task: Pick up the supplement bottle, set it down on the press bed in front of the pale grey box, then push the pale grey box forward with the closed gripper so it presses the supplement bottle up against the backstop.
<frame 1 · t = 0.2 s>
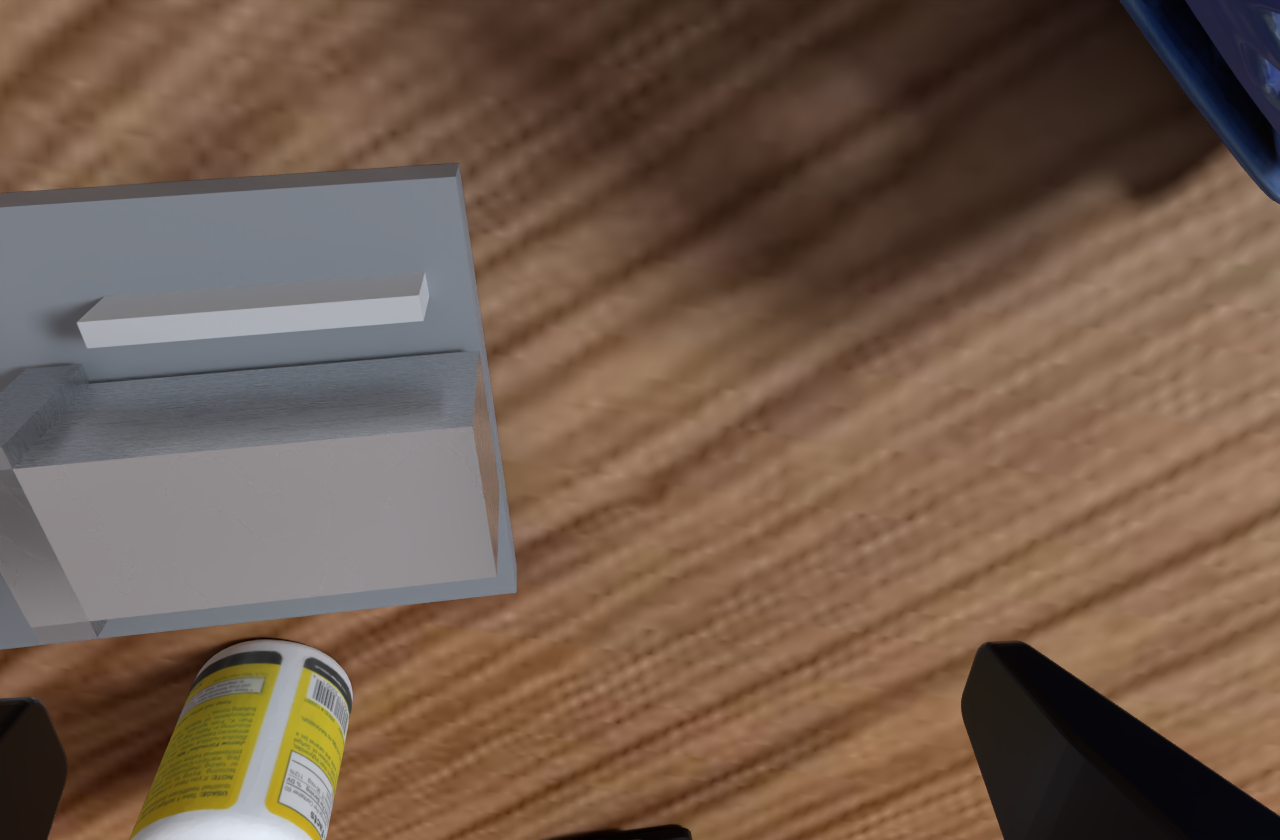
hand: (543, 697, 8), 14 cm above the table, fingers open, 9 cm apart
supplement bottle: (279, 683, 27), on the table
press bed: (76, 429, 22), on the table
pale grey box: (265, 482, 19), point 3 cm above the table, slide at 0.0 cm
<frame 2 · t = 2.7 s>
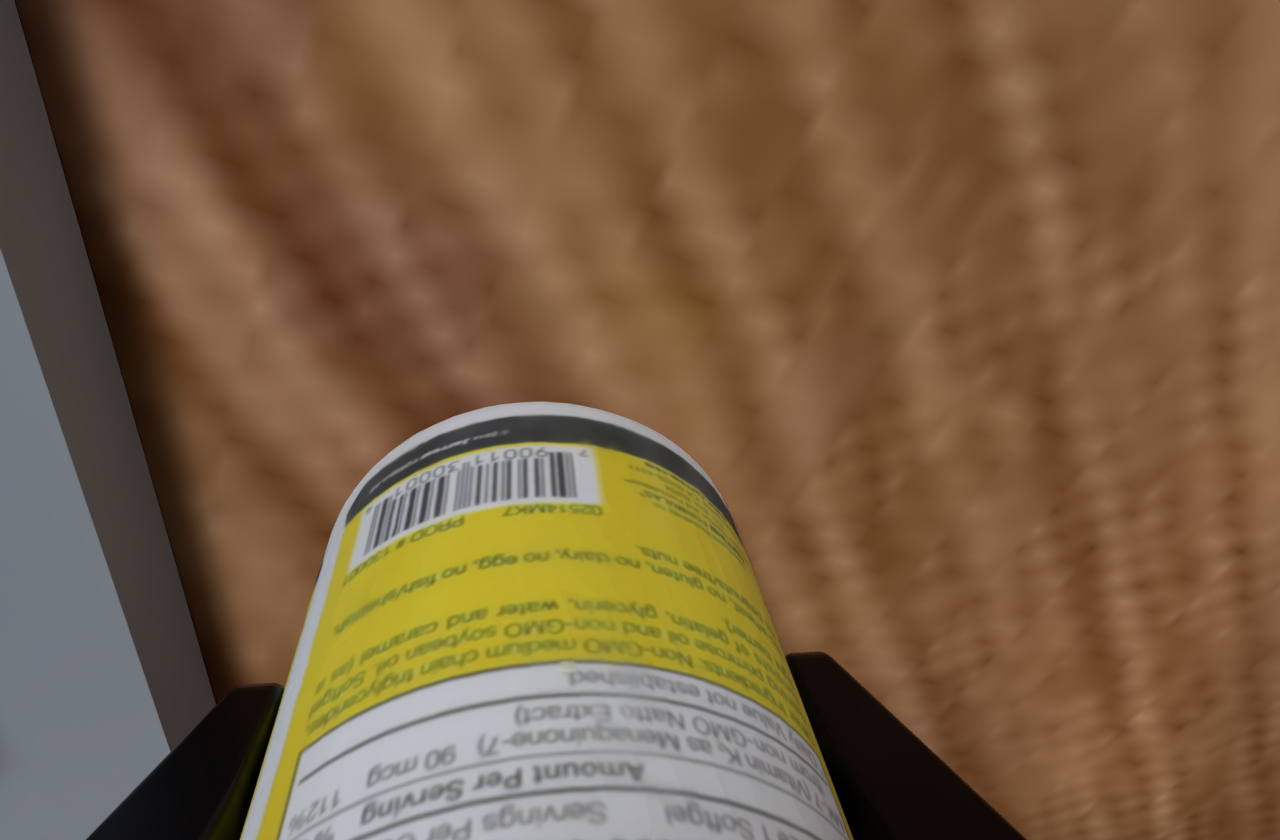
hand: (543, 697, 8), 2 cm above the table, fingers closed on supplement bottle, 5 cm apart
supplement bottle: (538, 553, 10), on the table, touching gripper
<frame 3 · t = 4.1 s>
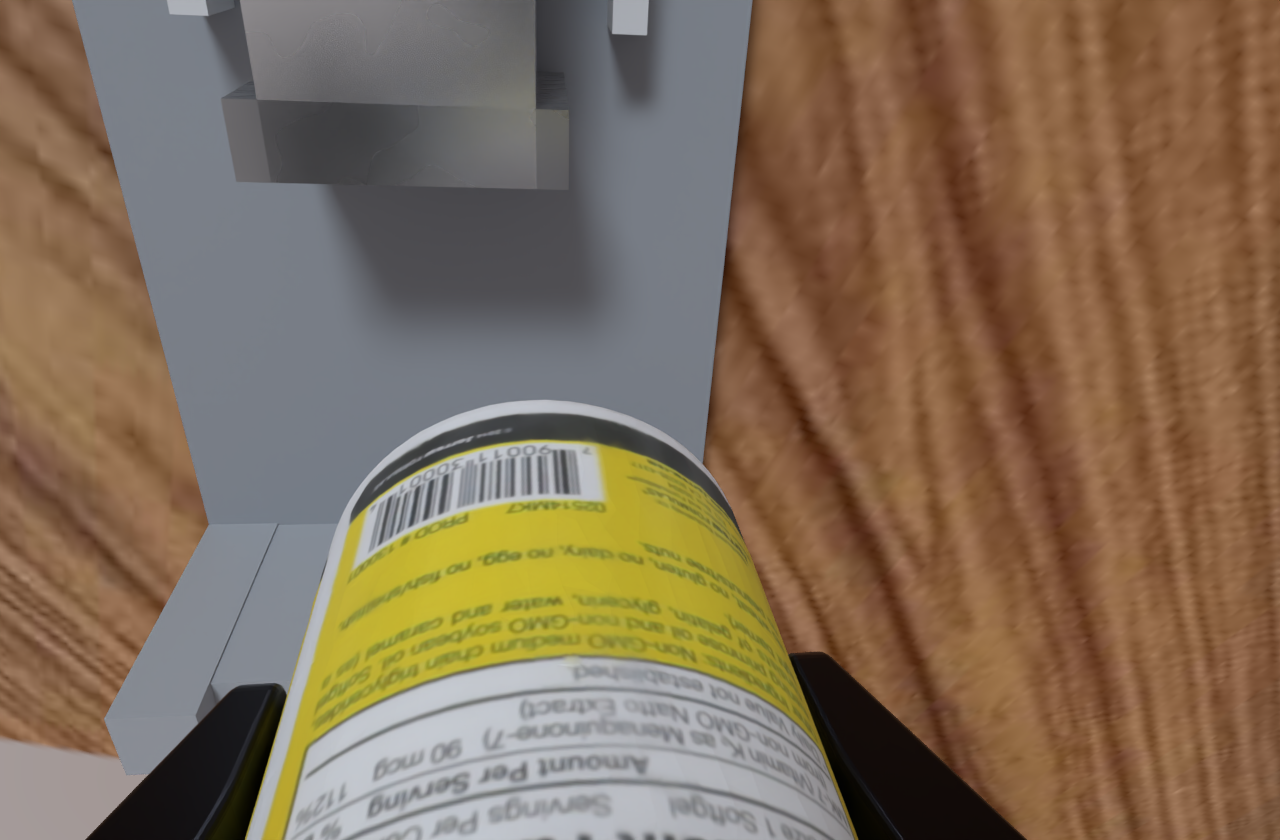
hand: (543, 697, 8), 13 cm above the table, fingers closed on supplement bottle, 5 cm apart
supplement bottle: (541, 551, 10), point 10 cm above the table, touching gripper
press bed: (441, 141, 18), on the table
when the fingers open (4 cm above the table, at t = 5.5 s): supplement bottle stays where it is, resting on press bed.
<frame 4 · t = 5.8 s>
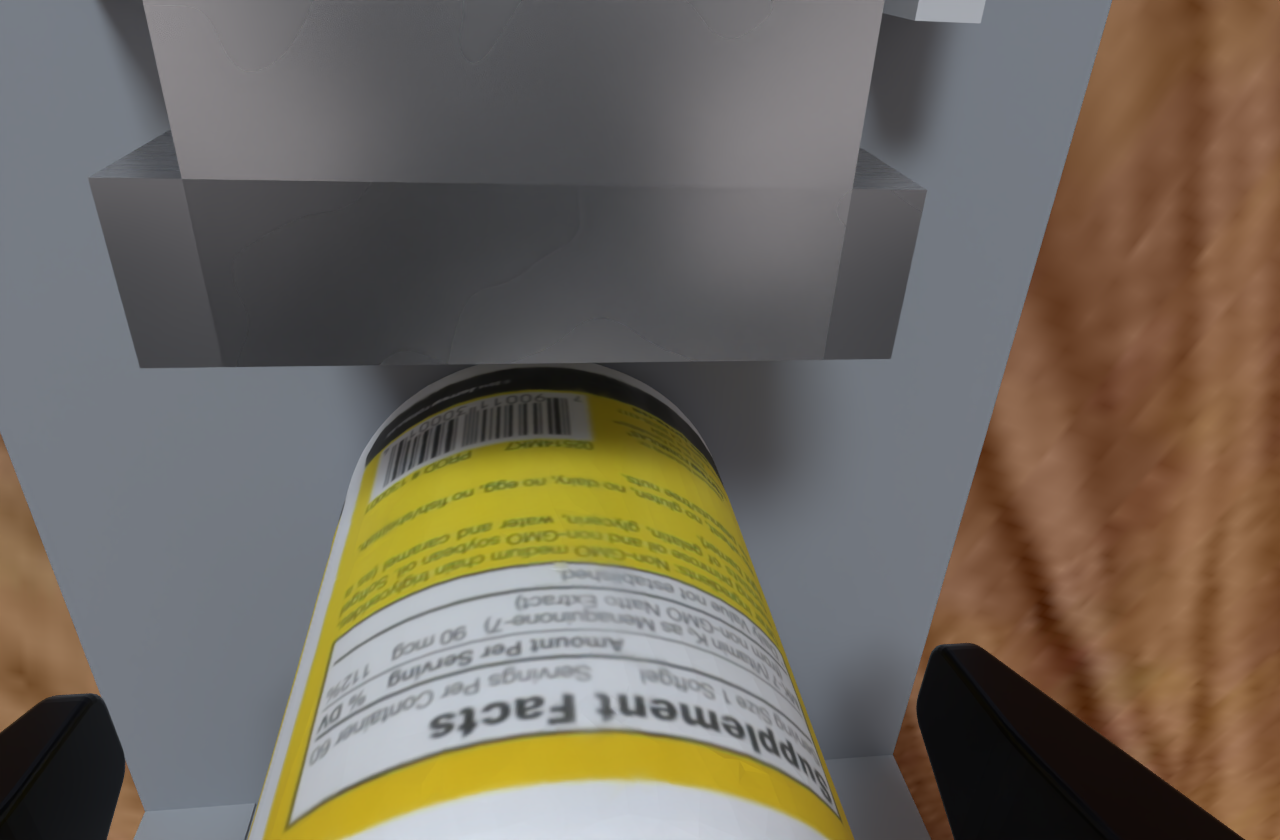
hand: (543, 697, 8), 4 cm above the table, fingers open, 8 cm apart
supplement bottle: (540, 499, 11), point 1 cm above the table, touching press bed
press bed: (529, 215, 10), on the table
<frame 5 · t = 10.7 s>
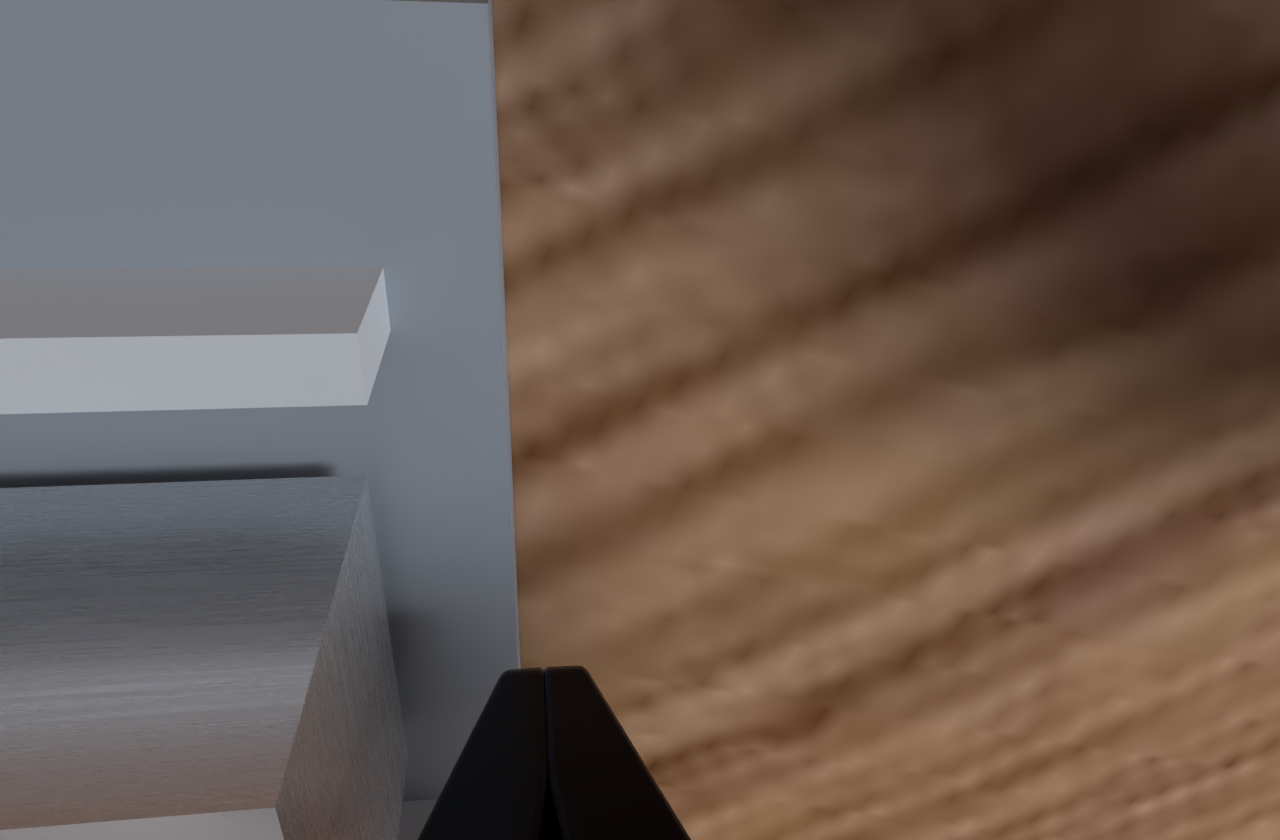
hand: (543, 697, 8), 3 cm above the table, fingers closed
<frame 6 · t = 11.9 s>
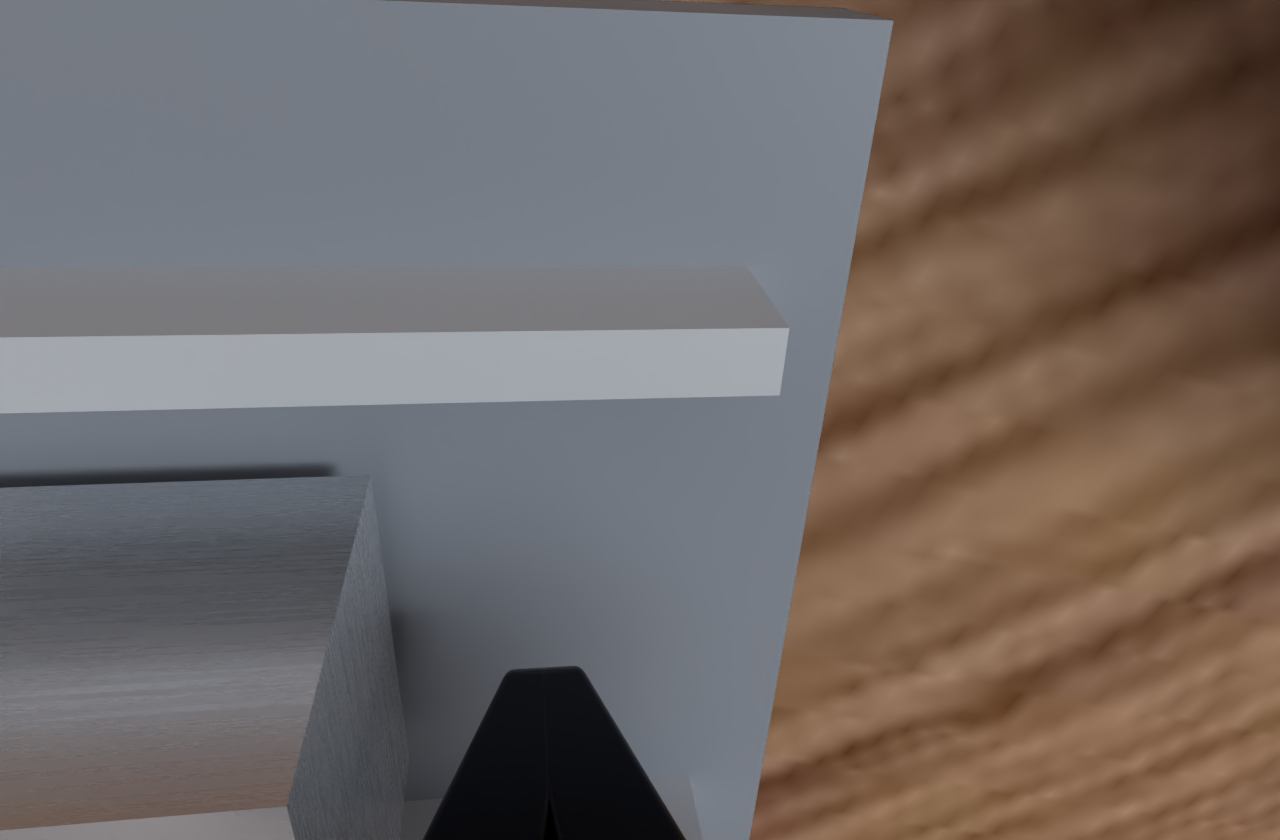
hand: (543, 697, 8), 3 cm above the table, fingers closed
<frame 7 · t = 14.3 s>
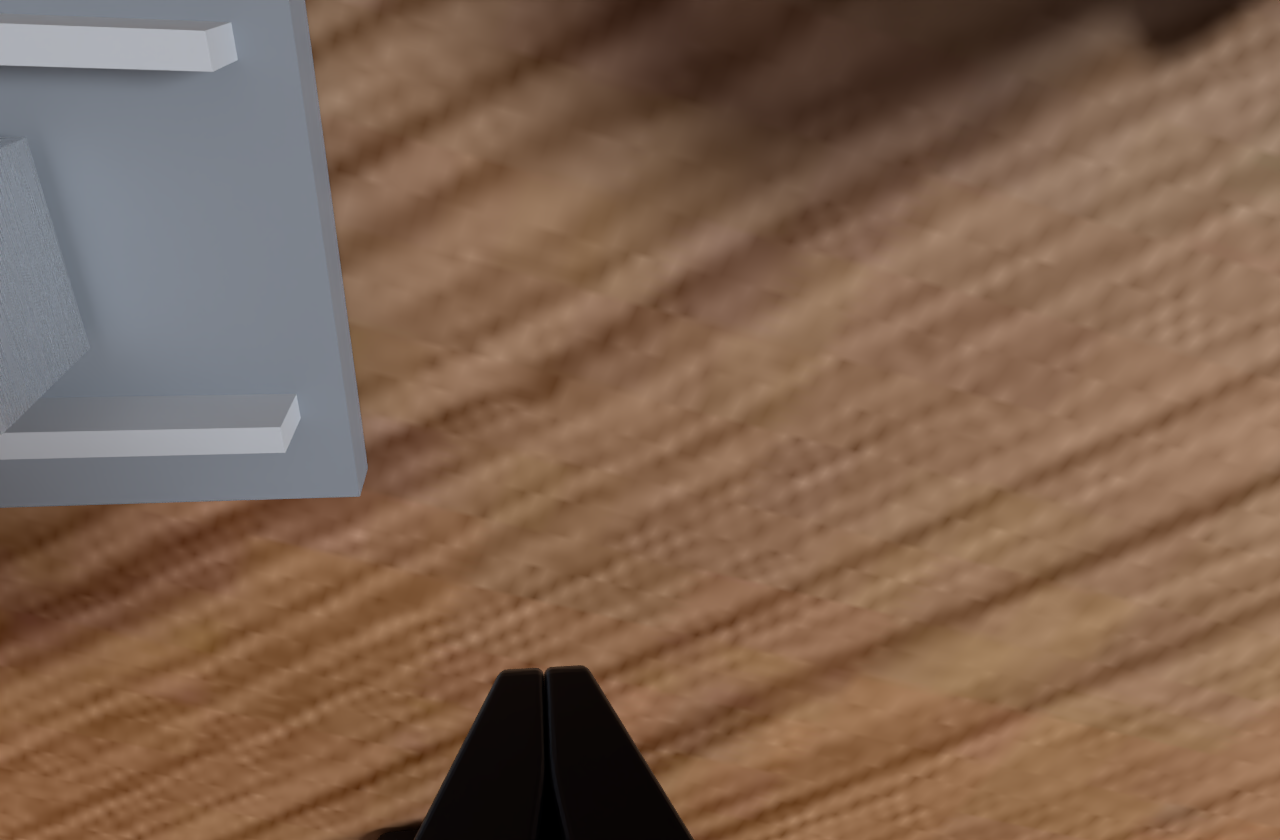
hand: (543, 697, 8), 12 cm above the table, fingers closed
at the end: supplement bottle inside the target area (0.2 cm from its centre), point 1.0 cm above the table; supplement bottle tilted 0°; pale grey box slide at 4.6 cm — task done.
